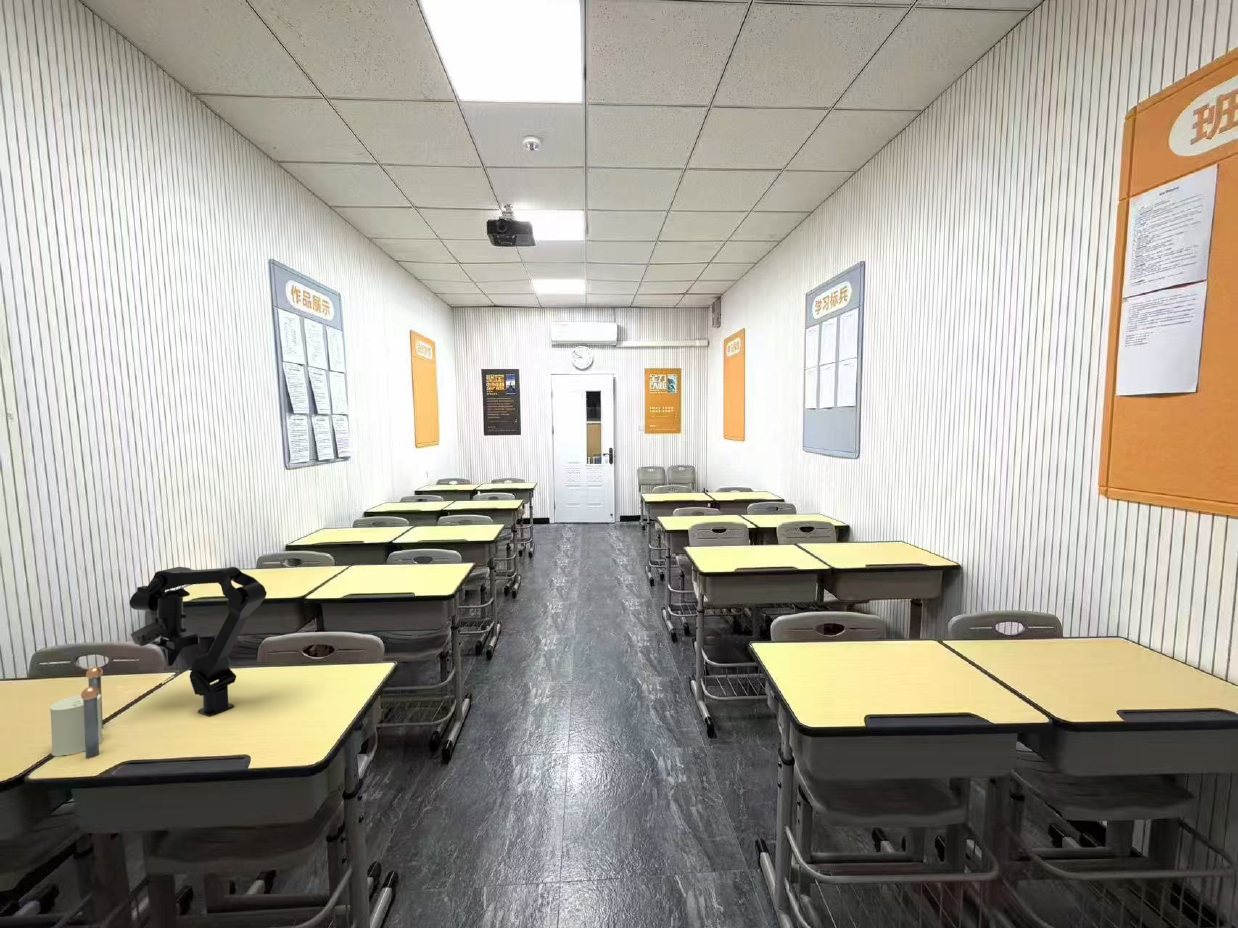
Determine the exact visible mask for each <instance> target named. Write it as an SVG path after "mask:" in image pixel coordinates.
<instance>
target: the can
mask: <svg viewBox="0 0 1238 928" xmlns="http://www.w3.org/2000/svg"><path fill="white" fill-rule="evenodd" d="M97 707H98V733H99V745H100V744H101V743H102V742H103V740H104V738H103V728H102V724H101V695H100V694H99V695H98V696H97ZM49 710H50V723H51V724H50V727H51V728H50V729H51V753H50V755H51V756H53V757H62V756H61V755H68V756H70V755H69V754H73V753H77V754H80V753H83V752H85V730H84V704H83V699H82V698H81V694H77V695H73V696H71V697H66V698H63V699H61V700H59V701H56V702H54V703H52V705H50V707H49ZM82 751H83V752H82ZM73 755H74V754H73Z"/></svg>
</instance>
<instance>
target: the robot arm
mask: <svg viewBox="0 0 1238 928" xmlns="http://www.w3.org/2000/svg"><path fill="white" fill-rule="evenodd" d="M232 582H234V583H236V584H237V585H239V587H235V586H234V585H233V584H232ZM204 584H205V585H206V584H219V585H220V587H221V591H222V595H223V596H224V597H225V598H226V599H227V600H228V601H227V604H226V605H227V608H228V613H227V615H226V617H225V620H224V621H223V622H222V625H221V627H220V630H218V633H217V635H216V636H215V639H214V642H212V645H211V647H210V648H209V651H208V652H207V653H205V654H203V655H200V656H197V657H196V658H195V659H194V662H193V665H192V666H191V668H189V671H190V673H189V681H190V683H191V686H192V688H193V692H194V694H195V695H198V696H199V697H202V700H203V701H202V703H203V707H202V708H200V709H198V710H197V713H199V714H202V715H205V716H208V717H212V716H215V715H218V714H219V713H222V712H224V711H227V710H229V709H232V708H235V705H234V704H232V703H229V686H230V685H231V684H234V683H235V682H236V679H237V675H236V674H235V672H234V671H233V670H232V669H231V668H230V662H231V661H230V658H229V654H230V653H231V651H232V649H233V647H234V645H235V643H236V641H237V640H238V637H239V635H240V633H241V632H242V630H243V627H244V625H245V624H246V621H247V620H248V617H249V616H250V615H251V613H253V612H254V611H255V610H256V609H258V607H260V606H261V604H262V603H263V601H264V600H265V599H266V597H267V590H266V588H265V586H264V585H263V584H262V583H260V582H259V581H258V580H257V579H256V578H255V577H253V576H252V575H249V574H246V573H244V572H242V571H241V569H239V568H238V567H235V566H229V567H221V568H219V567H218V568H203V569H192V568H190V567H187V566H186V567H184V566H176V567H172V568H171V567H170V568H168V569H167V568H166V569H162V570H159V571H156V572H155V573H154V575H153V576H152V579H151V580H150V581H149V583H148V584H147V585H141V586H137V587H136V591H135V592H134V593H133V594H132V596H131V598H130V600H129V606H130V608H131V609H132V610H136V611H149V612H157V614H156V615H155V616H153V618H152V622H151V623H149V624H147V625H144V626H143V627H140V628H139V629H137V630H134V631H133V632H132V633H130V636H131V638H132V641H133V643H134V644H135V645H139V646H140V647H144V646H146V645H149V643H151V644H152V645H154V646H156V647H158V648H159V649H160V650H161V653H162V655H163V659H164V661H165V664H166V666H167V667H170V666H173V665H174V663H175V661H176V660H177V658H178V656H179V654H180V653H181V651H182V650H183V648H187V647H190V646H194V645H198V644H200V636H199V635H198V634H197V633H194V632H191V631H187V627H184V619H186V618H187V613H184V598H185V597H189V596H190V595H191V594H190V592H188V590H186V589H185V588H184V587H183V586H189V585H204ZM178 587H181V588H178ZM176 588H177V589H176ZM173 589H175V590H173Z"/></svg>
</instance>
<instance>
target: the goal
mask: <svg viewBox="0 0 1238 928" xmlns="http://www.w3.org/2000/svg"><path fill="white" fill-rule="evenodd" d="M103 672H104V671H103V668H101V667H100V666H92V667H90V668H89V669H88V670H87V671H86V674H85V677H86V678H87V679H88V680H87V681H88V687H85V688H84V689H83V690H82V691H81V693H80V695H81V698H82V699H83V704H84V730H85V751H84V752H85V753H84V754H85V759H92V758H95V757H97V756H98V755H100V744H99V733H98V707H97V696H98V695H99V694H100V695H101V724H102V729H103V728H104V726H103V725H104V723H103V700H102V699H103V698H102V697H103V694H102V675H103Z"/></svg>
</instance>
